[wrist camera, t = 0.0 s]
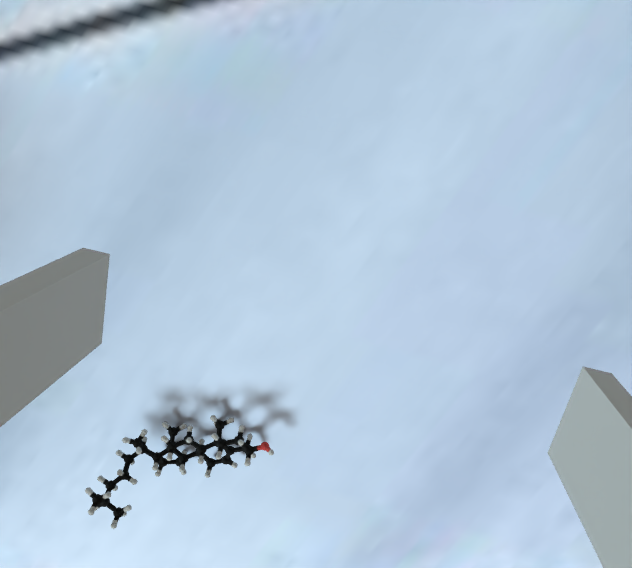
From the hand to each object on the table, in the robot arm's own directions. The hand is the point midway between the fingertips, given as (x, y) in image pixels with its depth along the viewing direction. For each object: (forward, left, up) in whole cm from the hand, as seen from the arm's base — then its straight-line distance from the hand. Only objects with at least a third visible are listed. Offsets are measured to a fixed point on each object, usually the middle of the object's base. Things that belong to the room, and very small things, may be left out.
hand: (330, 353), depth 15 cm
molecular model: (+25, -9, -28) cm, 39 cm away
